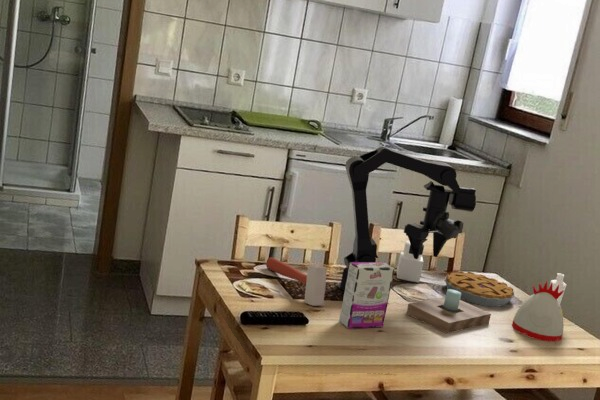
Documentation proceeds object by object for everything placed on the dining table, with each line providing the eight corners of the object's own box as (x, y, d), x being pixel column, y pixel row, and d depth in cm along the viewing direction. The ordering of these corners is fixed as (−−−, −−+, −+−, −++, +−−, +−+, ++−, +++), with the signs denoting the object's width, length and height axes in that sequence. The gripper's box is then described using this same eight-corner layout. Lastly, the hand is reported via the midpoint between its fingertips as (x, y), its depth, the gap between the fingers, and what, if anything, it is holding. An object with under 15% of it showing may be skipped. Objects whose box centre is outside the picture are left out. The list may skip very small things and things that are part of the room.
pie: (429, 287, 240) (432, 272, 239) (467, 280, 256) (471, 266, 255) (487, 313, 226) (491, 297, 225) (525, 304, 241) (528, 289, 240)
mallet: (266, 247, 228) (316, 267, 202) (276, 248, 230) (328, 267, 204) (262, 282, 229) (312, 306, 203) (273, 282, 231) (323, 306, 205)
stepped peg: (449, 322, 211) (455, 295, 209) (437, 316, 214) (443, 290, 212) (458, 320, 214) (464, 293, 212) (446, 314, 217) (452, 288, 215)
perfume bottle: (556, 321, 229) (569, 274, 226) (556, 325, 225) (569, 278, 221) (540, 317, 230) (553, 270, 227) (540, 321, 226) (552, 273, 223)
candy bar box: (373, 320, 202) (385, 261, 199) (383, 327, 198) (396, 268, 195) (337, 321, 197) (349, 261, 193) (347, 329, 193) (359, 267, 189)
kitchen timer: (560, 346, 209) (574, 294, 205) (510, 331, 213) (522, 281, 210) (562, 330, 221) (575, 282, 218) (514, 317, 226) (526, 269, 222)
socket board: (446, 333, 202) (448, 323, 201) (406, 313, 212) (408, 303, 211) (488, 323, 216) (491, 313, 215) (449, 305, 226) (451, 295, 225)
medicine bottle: (417, 276, 249) (425, 241, 246) (419, 283, 242) (427, 247, 239) (396, 272, 249) (403, 237, 247) (396, 278, 242) (404, 242, 240)
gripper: (439, 215, 208) (427, 269, 211) (478, 213, 220) (466, 264, 224) (408, 204, 215) (397, 256, 219) (447, 202, 228) (436, 252, 231)
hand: (425, 257), depth 223 cm, fingers open, 9 cm apart
